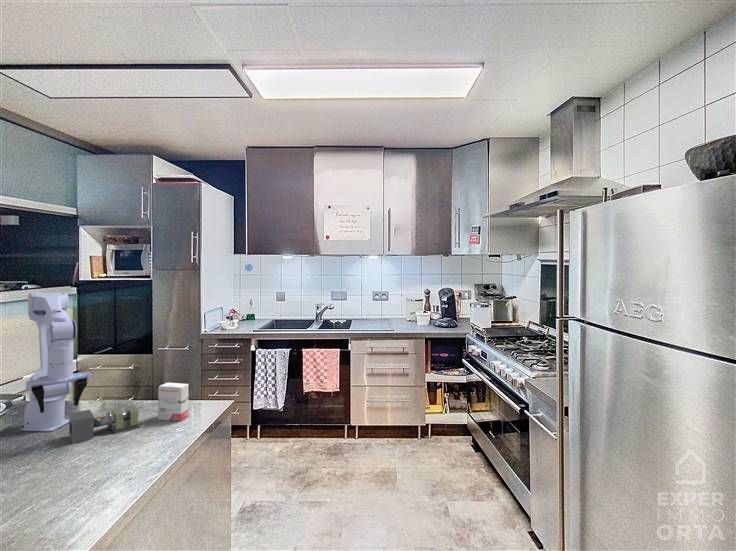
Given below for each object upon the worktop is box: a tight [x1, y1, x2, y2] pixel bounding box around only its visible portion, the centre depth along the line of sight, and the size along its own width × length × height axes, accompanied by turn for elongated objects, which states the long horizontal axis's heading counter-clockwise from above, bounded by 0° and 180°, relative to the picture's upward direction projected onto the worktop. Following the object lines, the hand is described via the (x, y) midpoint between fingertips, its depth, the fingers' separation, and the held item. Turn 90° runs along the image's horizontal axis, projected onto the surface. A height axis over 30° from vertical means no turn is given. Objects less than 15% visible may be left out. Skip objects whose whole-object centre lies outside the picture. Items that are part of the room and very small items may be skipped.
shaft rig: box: [94, 404, 141, 435], centre depth 115 cm, size 13×8×6 cm, turn 136°
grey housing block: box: [68, 409, 95, 444], centre depth 109 cm, size 5×7×7 cm
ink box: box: [157, 382, 189, 422], centre depth 125 cm, size 9×5×12 cm, turn 84°
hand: (59, 408), depth 105 cm, fingers open, 7 cm apart
